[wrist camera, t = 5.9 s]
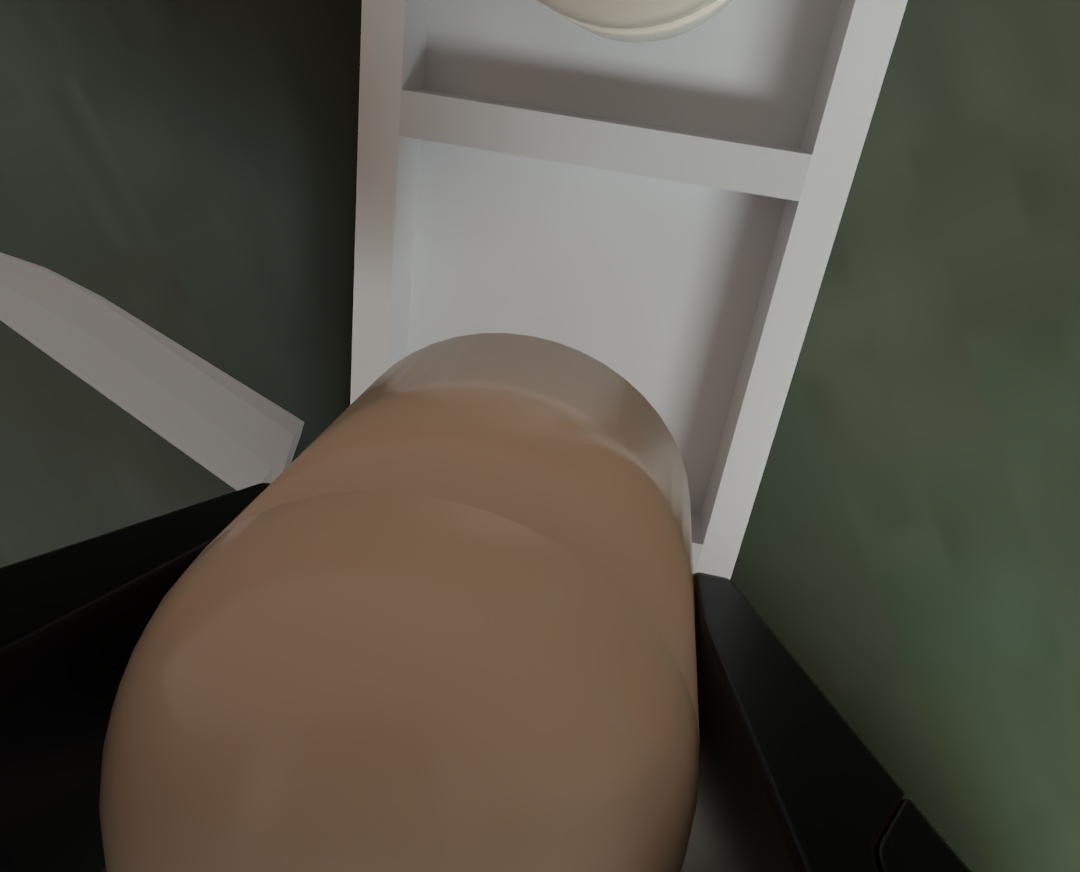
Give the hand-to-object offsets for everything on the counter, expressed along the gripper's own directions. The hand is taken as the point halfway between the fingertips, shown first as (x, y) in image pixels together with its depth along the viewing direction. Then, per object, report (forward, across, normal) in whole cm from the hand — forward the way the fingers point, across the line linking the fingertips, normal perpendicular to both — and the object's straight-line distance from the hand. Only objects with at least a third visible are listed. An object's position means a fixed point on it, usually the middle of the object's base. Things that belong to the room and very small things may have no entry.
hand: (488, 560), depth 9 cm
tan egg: (+1, 0, 0) cm, 1 cm away
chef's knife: (+10, +9, +4) cm, 14 cm away
